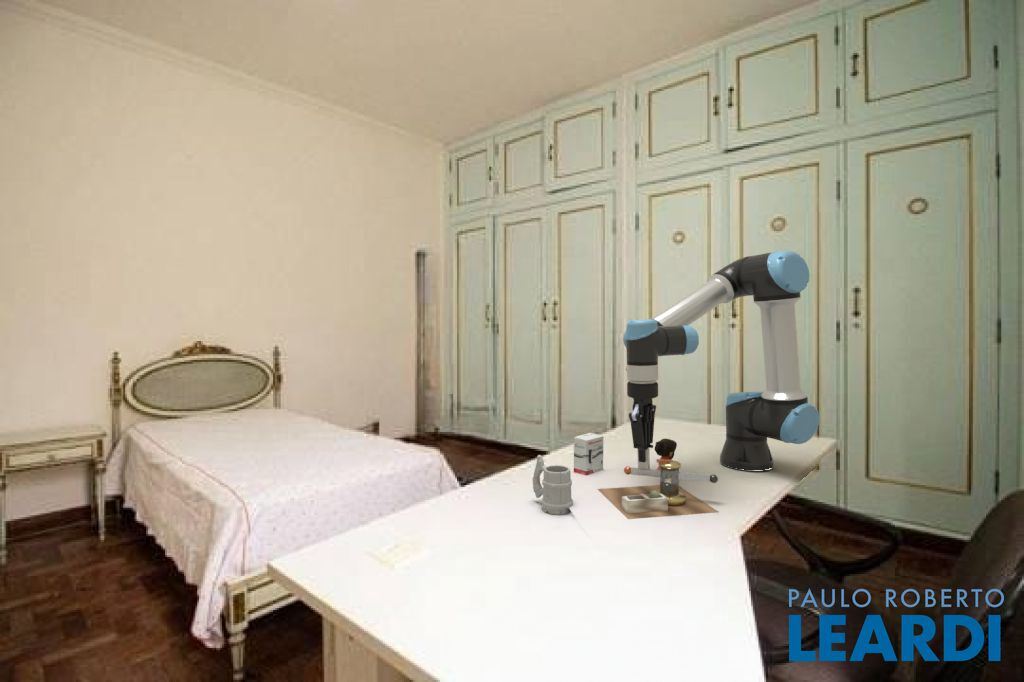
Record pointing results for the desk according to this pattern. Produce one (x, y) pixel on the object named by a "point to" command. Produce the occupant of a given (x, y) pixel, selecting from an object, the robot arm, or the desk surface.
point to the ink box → (588, 453)
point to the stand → (652, 502)
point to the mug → (553, 487)
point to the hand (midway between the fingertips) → (643, 473)
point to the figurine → (665, 449)
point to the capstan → (671, 479)
